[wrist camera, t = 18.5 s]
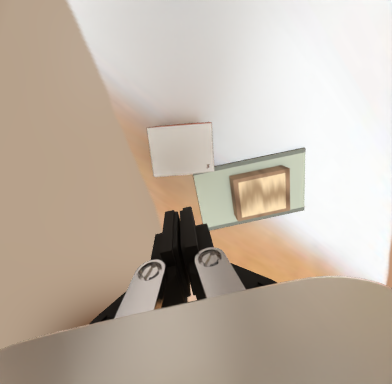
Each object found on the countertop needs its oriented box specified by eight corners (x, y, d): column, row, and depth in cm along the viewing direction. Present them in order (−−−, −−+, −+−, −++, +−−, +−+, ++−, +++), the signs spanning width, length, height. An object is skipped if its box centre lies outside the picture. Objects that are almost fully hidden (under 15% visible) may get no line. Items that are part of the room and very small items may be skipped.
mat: (192, 171, 38) (192, 171, 37) (303, 147, 38) (305, 148, 37) (204, 230, 43) (204, 231, 42) (302, 208, 43) (304, 210, 42)
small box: (201, 122, 35) (213, 121, 22) (203, 156, 37) (215, 172, 25) (156, 125, 34) (145, 126, 22) (161, 160, 36) (153, 178, 24)
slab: (233, 180, 35) (289, 168, 35) (229, 176, 38) (281, 165, 38) (238, 221, 38) (290, 210, 39) (234, 214, 41) (282, 204, 41)
